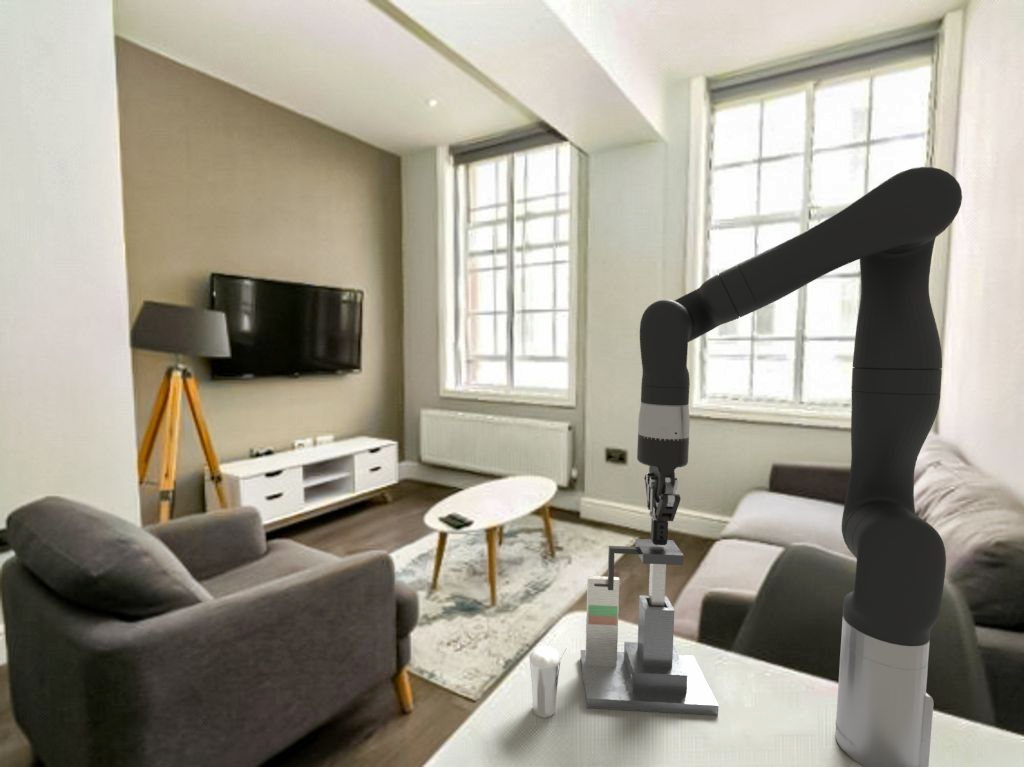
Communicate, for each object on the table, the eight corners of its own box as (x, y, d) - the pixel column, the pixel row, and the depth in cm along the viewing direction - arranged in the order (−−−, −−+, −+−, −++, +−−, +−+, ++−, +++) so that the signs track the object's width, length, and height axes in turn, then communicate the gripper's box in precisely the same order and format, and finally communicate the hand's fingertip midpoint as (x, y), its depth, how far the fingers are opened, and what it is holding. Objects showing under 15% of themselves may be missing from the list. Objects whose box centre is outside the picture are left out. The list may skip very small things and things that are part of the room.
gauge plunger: (670, 609, 82) (673, 540, 81) (680, 629, 76) (683, 555, 75) (605, 606, 82) (607, 537, 82) (610, 626, 76) (612, 552, 76)
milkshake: (561, 726, 71) (562, 657, 70) (524, 716, 72) (526, 650, 72) (567, 704, 75) (569, 640, 74) (533, 696, 77) (534, 633, 76)
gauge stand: (693, 664, 85) (697, 572, 84) (718, 715, 73) (723, 609, 72) (580, 658, 86) (583, 567, 85) (587, 708, 74) (590, 603, 73)
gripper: (702, 441, 70) (696, 562, 71) (676, 426, 83) (672, 529, 85) (647, 439, 71) (643, 559, 72) (630, 425, 84) (627, 527, 85)
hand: (658, 542), depth 78 cm, fingers closed
